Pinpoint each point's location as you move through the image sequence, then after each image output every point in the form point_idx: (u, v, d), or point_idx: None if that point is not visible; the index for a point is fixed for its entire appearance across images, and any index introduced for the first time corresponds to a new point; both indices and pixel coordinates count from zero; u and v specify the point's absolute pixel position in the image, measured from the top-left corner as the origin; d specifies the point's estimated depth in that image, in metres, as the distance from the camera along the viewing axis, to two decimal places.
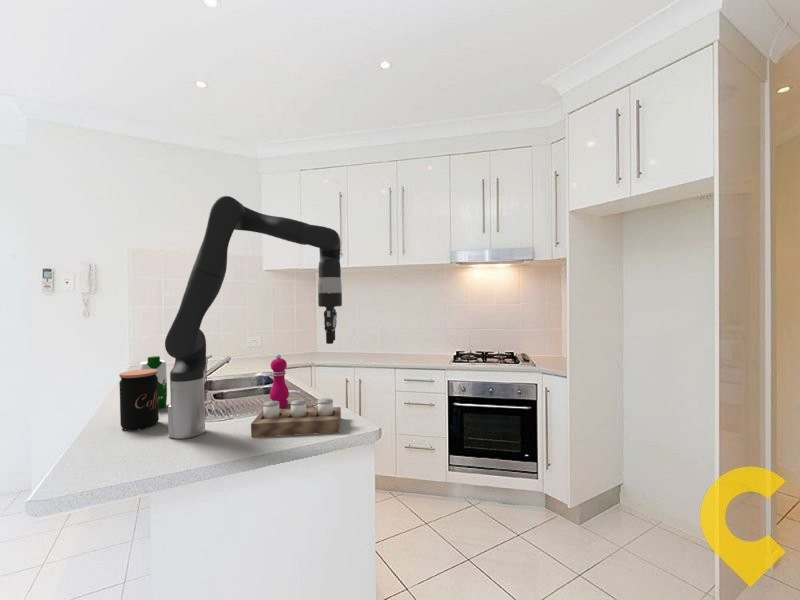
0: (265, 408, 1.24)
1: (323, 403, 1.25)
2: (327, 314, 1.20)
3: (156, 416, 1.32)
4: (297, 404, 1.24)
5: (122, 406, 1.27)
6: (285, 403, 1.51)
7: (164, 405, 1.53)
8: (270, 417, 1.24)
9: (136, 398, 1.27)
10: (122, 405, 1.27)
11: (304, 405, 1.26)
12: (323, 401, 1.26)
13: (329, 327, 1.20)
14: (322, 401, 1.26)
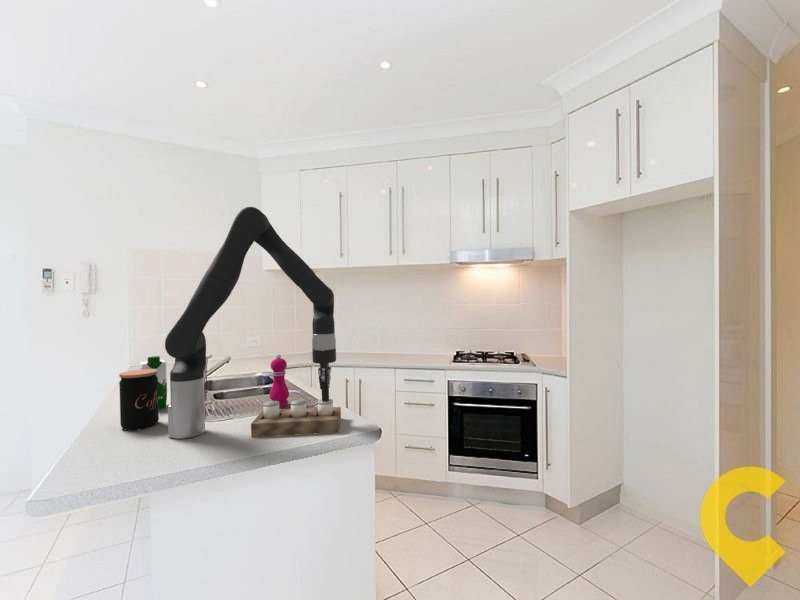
0: (265, 408, 1.24)
1: (323, 404, 1.25)
2: (322, 380, 1.22)
3: (156, 416, 1.32)
4: (297, 404, 1.24)
5: (122, 406, 1.27)
6: (285, 403, 1.51)
7: (164, 405, 1.53)
8: (270, 417, 1.24)
9: (136, 398, 1.27)
10: (122, 405, 1.27)
11: (304, 405, 1.26)
12: (323, 402, 1.26)
13: (324, 388, 1.25)
14: (322, 402, 1.26)
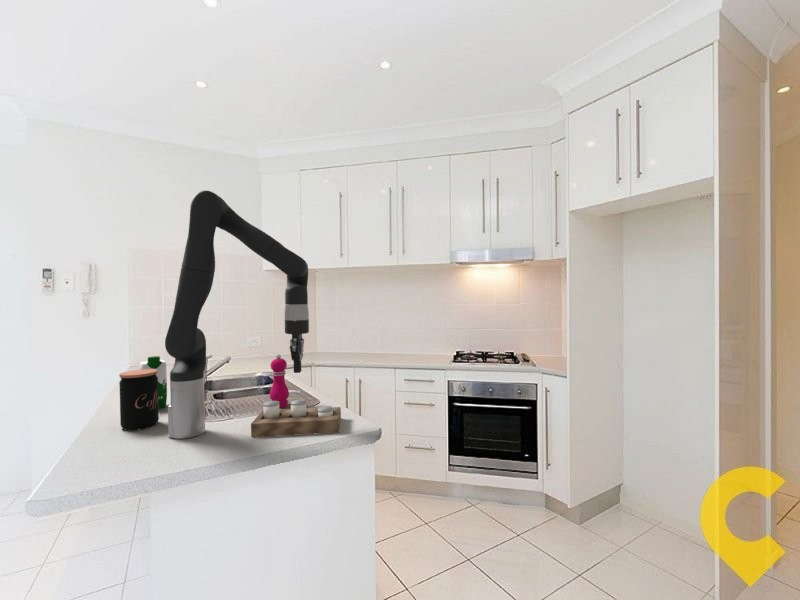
0: (265, 408, 1.24)
1: (323, 411, 1.25)
2: (293, 350, 1.21)
3: (156, 416, 1.32)
4: (297, 404, 1.24)
5: (122, 406, 1.27)
6: (285, 403, 1.51)
7: (164, 405, 1.53)
8: (270, 417, 1.24)
9: (136, 398, 1.27)
10: (122, 405, 1.27)
11: (304, 405, 1.26)
12: (323, 409, 1.26)
13: (296, 358, 1.24)
14: (322, 409, 1.26)
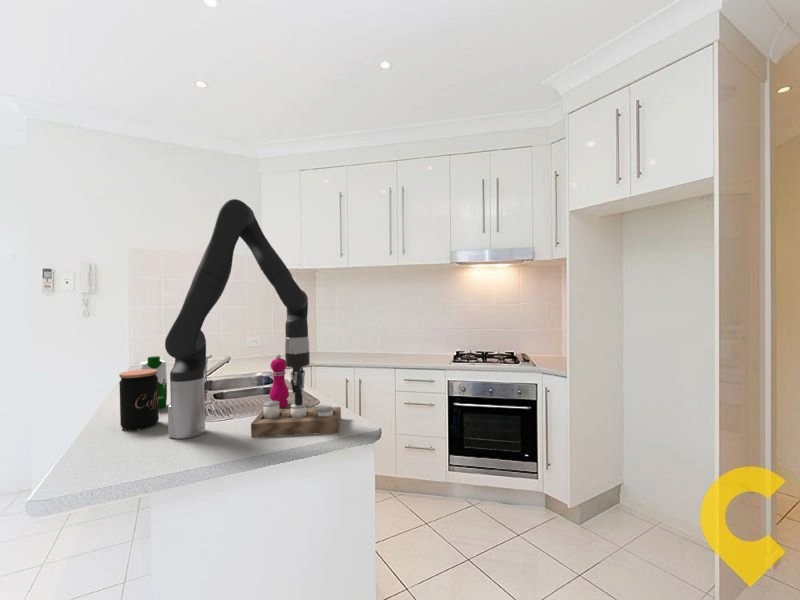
0: (265, 408, 1.24)
1: (323, 411, 1.25)
2: (294, 383, 1.21)
3: (156, 416, 1.32)
4: (297, 407, 1.24)
5: (122, 406, 1.27)
6: (285, 403, 1.51)
7: (164, 405, 1.53)
8: (270, 417, 1.24)
9: (136, 398, 1.27)
10: (122, 405, 1.27)
11: (304, 408, 1.26)
12: (323, 409, 1.26)
13: (297, 391, 1.24)
14: (322, 409, 1.26)
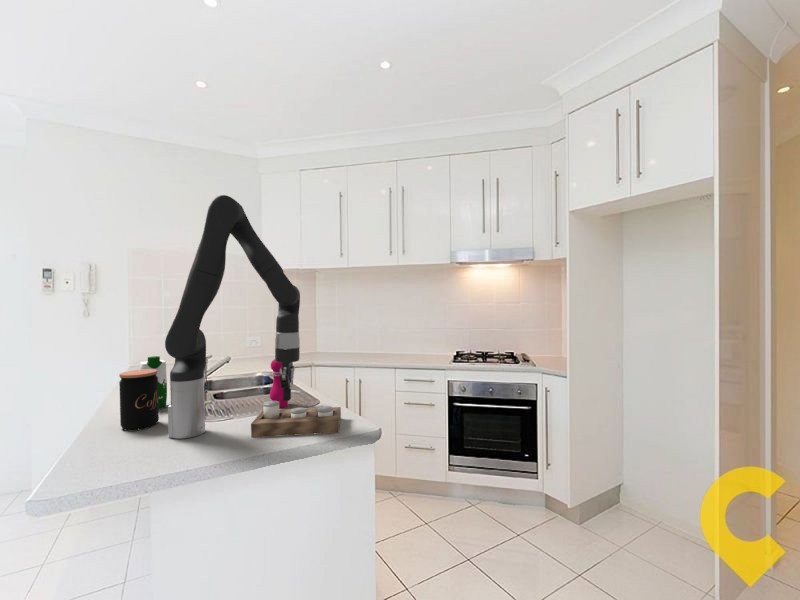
0: (265, 408, 1.24)
1: (323, 411, 1.25)
2: (282, 379, 1.21)
3: (156, 416, 1.32)
4: (297, 412, 1.24)
5: (122, 406, 1.27)
6: (285, 403, 1.51)
7: (164, 405, 1.53)
8: (270, 417, 1.24)
9: (136, 398, 1.27)
10: (122, 405, 1.27)
11: (304, 413, 1.26)
12: (323, 409, 1.26)
13: (286, 387, 1.23)
14: (322, 409, 1.26)
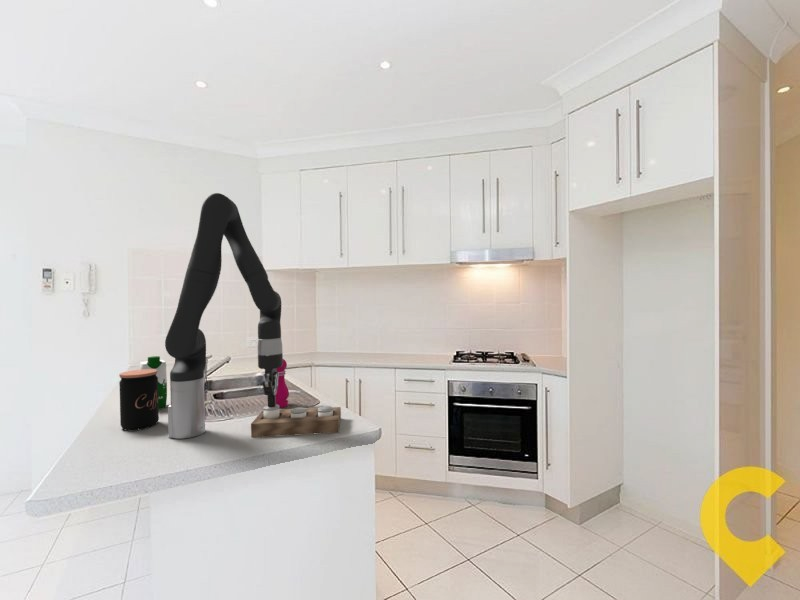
0: (265, 412, 1.24)
1: (323, 411, 1.25)
2: (265, 385, 1.20)
3: (156, 416, 1.32)
4: (297, 412, 1.24)
5: (122, 406, 1.27)
6: (285, 403, 1.51)
7: (164, 405, 1.53)
8: None
9: (136, 398, 1.27)
10: (122, 405, 1.27)
11: (304, 413, 1.26)
12: (323, 409, 1.26)
13: (269, 393, 1.23)
14: (322, 409, 1.26)
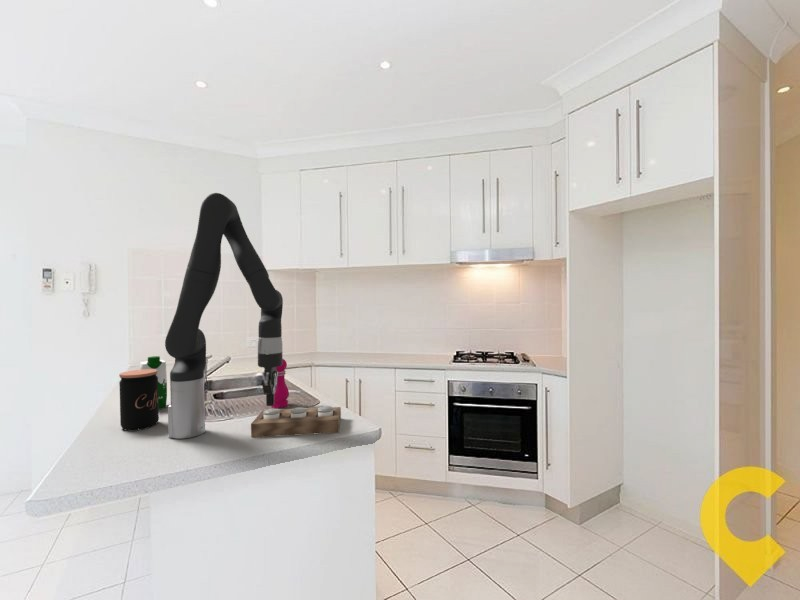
0: (265, 416, 1.24)
1: (323, 411, 1.25)
2: (264, 384, 1.20)
3: (156, 416, 1.32)
4: (297, 412, 1.24)
5: (122, 406, 1.27)
6: (285, 403, 1.51)
7: (164, 405, 1.53)
8: None
9: (136, 398, 1.27)
10: (122, 405, 1.27)
11: (304, 413, 1.26)
12: (323, 409, 1.26)
13: (268, 392, 1.23)
14: (322, 409, 1.26)
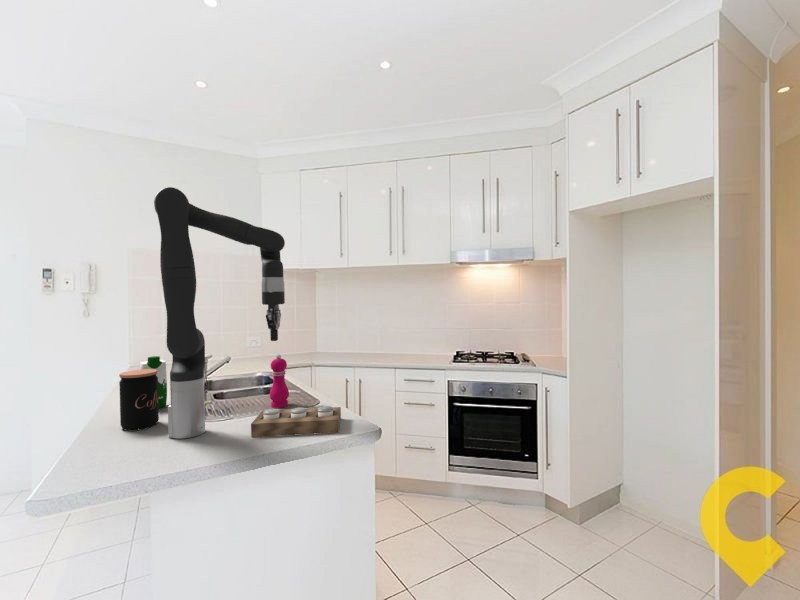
0: (265, 416, 1.24)
1: (323, 411, 1.25)
2: (269, 318, 1.31)
3: (156, 416, 1.32)
4: (297, 412, 1.24)
5: (122, 406, 1.27)
6: (285, 403, 1.51)
7: (164, 405, 1.53)
8: None
9: (136, 398, 1.27)
10: (122, 405, 1.27)
11: (304, 413, 1.26)
12: (323, 409, 1.26)
13: (272, 327, 1.34)
14: (322, 409, 1.26)
